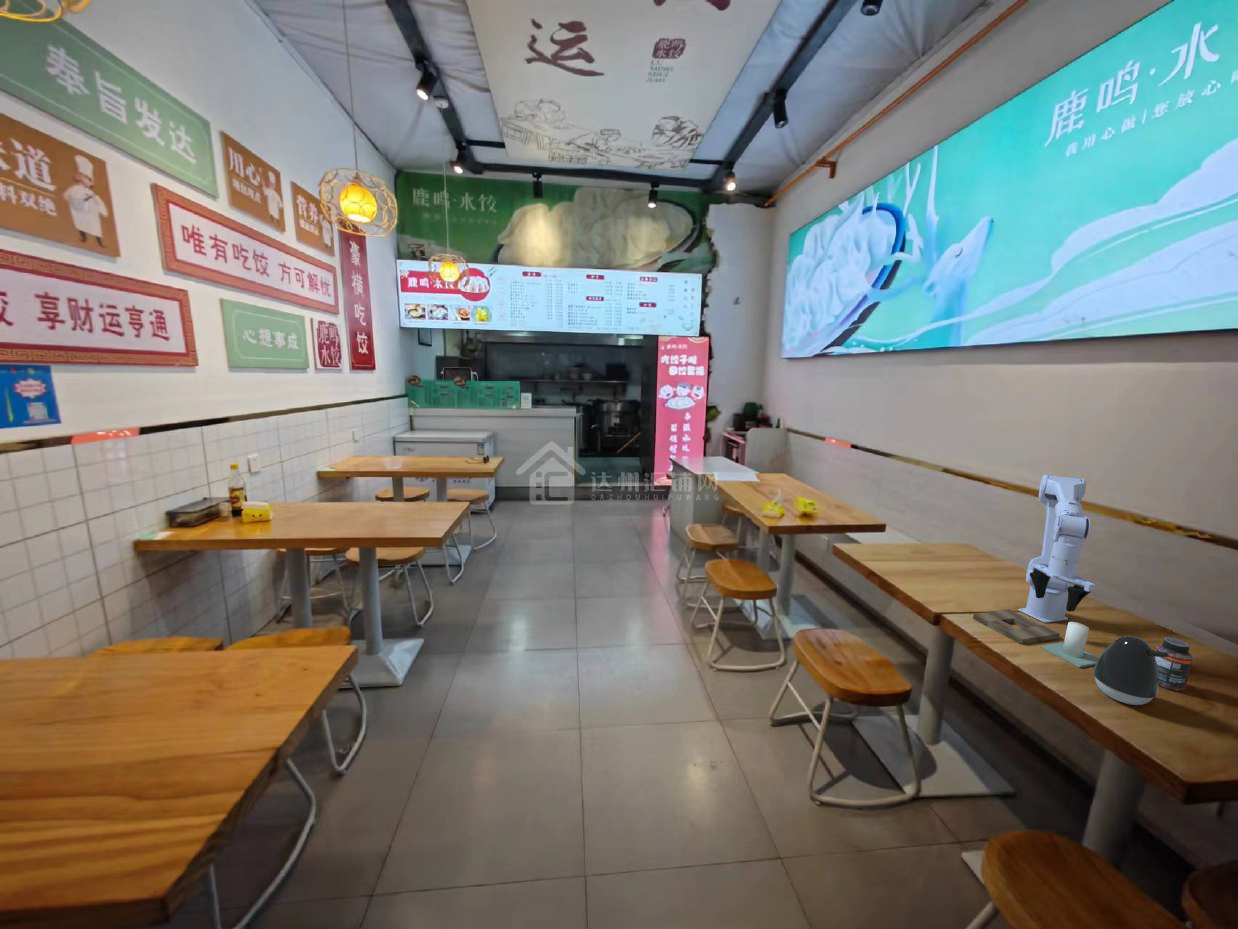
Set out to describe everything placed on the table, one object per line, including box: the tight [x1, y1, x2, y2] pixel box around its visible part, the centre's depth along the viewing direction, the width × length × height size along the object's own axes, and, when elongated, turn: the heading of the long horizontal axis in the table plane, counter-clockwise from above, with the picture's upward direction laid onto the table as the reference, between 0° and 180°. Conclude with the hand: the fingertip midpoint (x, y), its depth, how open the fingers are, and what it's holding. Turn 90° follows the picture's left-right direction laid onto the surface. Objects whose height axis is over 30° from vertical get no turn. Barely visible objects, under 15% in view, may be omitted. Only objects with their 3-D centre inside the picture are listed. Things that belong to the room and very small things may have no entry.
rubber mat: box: [1040, 641, 1100, 669], centre depth 126 cm, size 9×9×1 cm
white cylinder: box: [1062, 621, 1090, 658], centre depth 125 cm, size 4×4×8 cm
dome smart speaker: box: [1092, 635, 1169, 706], centre depth 108 cm, size 10×10×15 cm
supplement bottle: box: [1154, 637, 1194, 692], centre depth 114 cm, size 6×6×11 cm
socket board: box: [972, 609, 1061, 645], centre depth 139 cm, size 14×14×2 cm
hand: (1054, 603), depth 132 cm, fingers open, 7 cm apart
